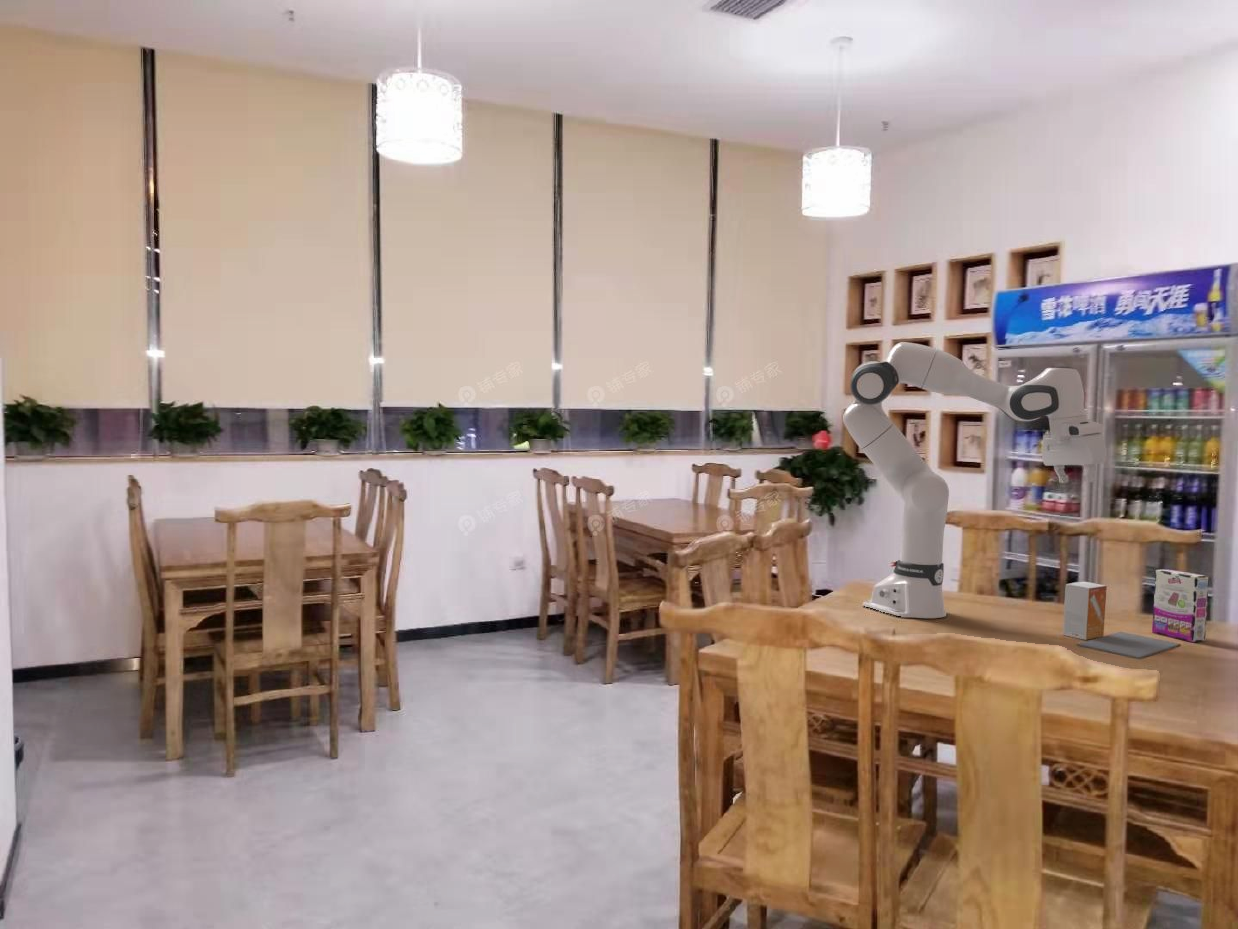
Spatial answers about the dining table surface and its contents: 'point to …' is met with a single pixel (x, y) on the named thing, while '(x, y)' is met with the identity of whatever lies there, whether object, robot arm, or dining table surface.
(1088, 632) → the small box
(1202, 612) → the candy bar box
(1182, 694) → the dining table surface
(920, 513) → the robot arm
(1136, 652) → the mat
